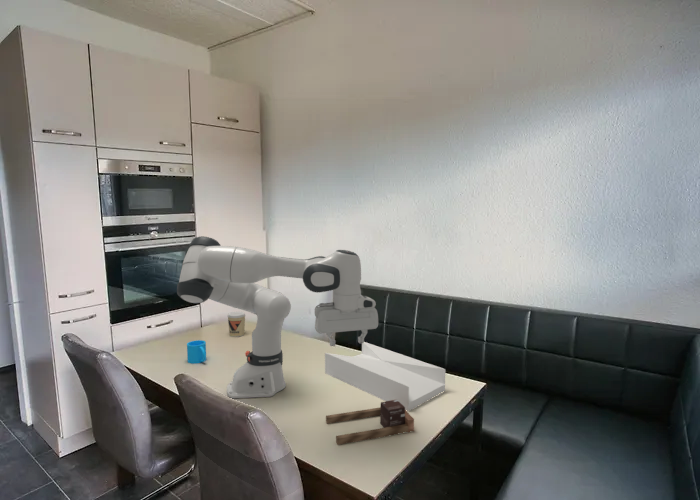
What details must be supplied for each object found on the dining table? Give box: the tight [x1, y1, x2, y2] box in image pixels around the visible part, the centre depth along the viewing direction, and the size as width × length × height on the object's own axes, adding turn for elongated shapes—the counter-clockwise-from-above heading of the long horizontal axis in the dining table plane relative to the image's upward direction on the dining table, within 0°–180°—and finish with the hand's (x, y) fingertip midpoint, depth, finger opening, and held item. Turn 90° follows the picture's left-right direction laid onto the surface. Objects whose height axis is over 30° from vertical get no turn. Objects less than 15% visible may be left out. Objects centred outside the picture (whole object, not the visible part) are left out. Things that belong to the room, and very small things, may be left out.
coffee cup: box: [227, 311, 246, 338], centre depth 225 cm, size 9×9×12 cm
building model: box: [324, 341, 446, 412], centre depth 165 cm, size 45×22×10 cm, turn 43°
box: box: [379, 400, 405, 428], centre depth 132 cm, size 6×6×7 cm
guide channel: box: [325, 400, 415, 446], centre depth 132 cm, size 25×14×4 cm, turn 107°
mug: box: [186, 339, 207, 365], centre depth 187 cm, size 12×8×8 cm
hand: (346, 344), depth 130 cm, fingers open, 8 cm apart
